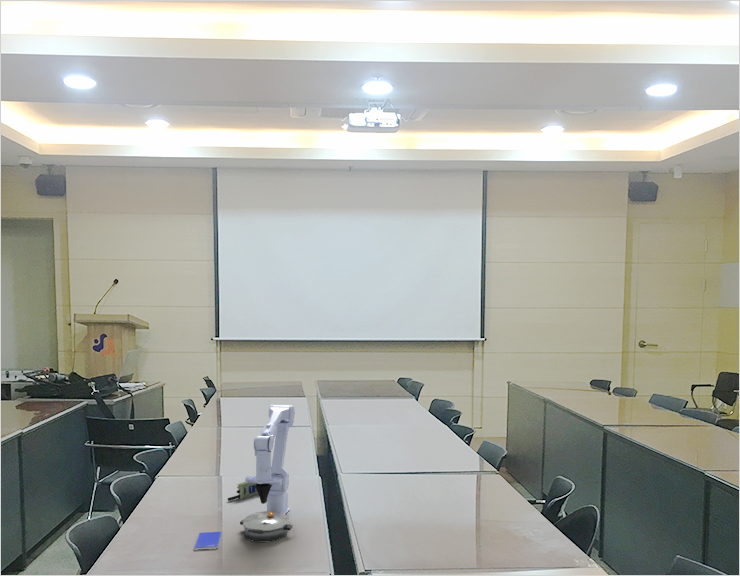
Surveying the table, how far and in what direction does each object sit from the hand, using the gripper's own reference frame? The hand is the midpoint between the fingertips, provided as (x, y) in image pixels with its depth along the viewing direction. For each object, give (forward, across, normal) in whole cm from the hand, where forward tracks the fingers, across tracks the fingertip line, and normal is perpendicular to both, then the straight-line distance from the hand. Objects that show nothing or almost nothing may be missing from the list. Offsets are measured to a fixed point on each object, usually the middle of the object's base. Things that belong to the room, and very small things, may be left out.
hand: (263, 502), depth 231 cm
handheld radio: (+11, -21, +33) cm, 40 cm away
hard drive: (+11, -15, -15) cm, 24 cm away
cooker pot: (+10, +2, -2) cm, 11 cm away
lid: (+6, +2, -3) cm, 7 cm away
